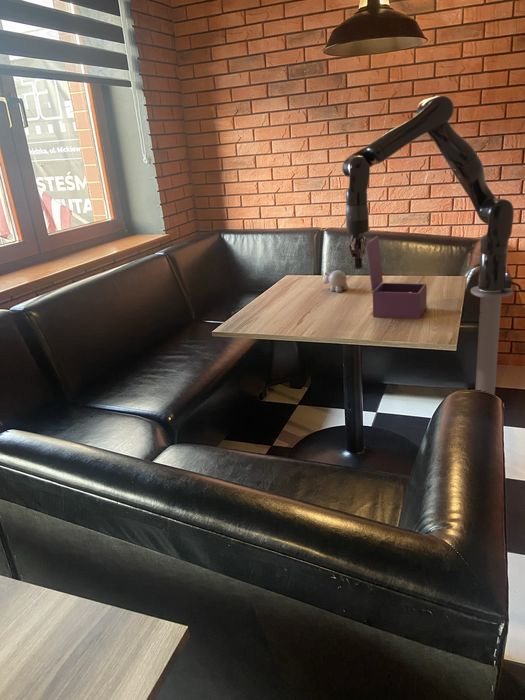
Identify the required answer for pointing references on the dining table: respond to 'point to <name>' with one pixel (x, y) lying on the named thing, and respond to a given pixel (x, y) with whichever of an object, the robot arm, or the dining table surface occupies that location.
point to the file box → (399, 300)
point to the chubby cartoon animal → (336, 280)
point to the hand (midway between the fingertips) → (358, 268)
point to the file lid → (374, 262)
